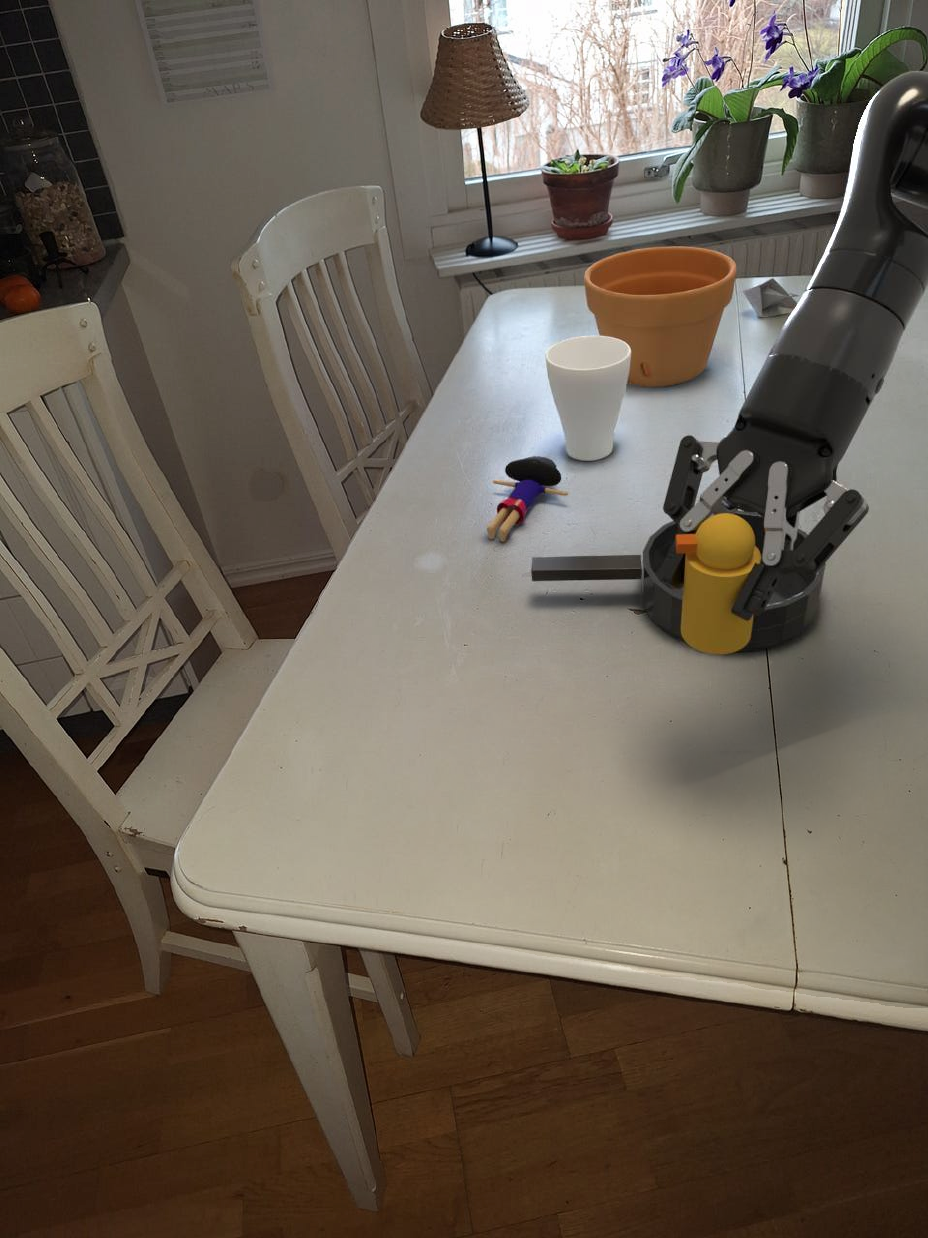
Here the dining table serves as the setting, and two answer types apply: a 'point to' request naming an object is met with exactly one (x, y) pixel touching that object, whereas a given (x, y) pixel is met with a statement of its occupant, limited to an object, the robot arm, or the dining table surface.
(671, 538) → the pan
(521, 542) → the dining table surface
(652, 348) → the flower pot
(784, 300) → the paper boat
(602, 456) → the cup
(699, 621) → the yellow duck figurine
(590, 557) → the pan handle
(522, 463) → the toy
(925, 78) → the robot arm
